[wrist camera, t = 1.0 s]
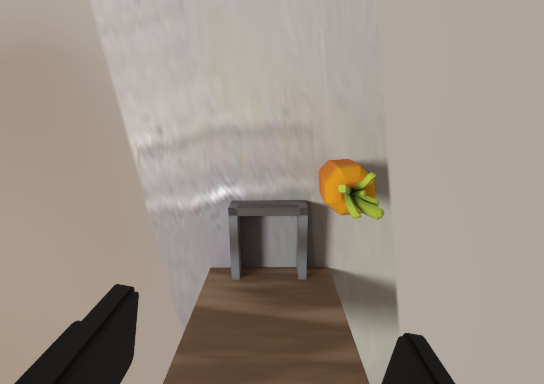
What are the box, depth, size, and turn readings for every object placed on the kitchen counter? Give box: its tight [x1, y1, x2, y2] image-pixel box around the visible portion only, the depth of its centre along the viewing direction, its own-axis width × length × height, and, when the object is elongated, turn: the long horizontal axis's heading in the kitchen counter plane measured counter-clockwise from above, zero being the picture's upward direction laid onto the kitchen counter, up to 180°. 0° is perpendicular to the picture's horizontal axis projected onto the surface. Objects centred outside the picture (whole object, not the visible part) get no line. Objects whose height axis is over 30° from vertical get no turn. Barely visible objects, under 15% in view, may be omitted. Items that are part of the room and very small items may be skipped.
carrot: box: [319, 159, 384, 220], centre depth 29 cm, size 5×5×15 cm
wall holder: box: [163, 200, 369, 384], centre depth 30 cm, size 11×16×20 cm
